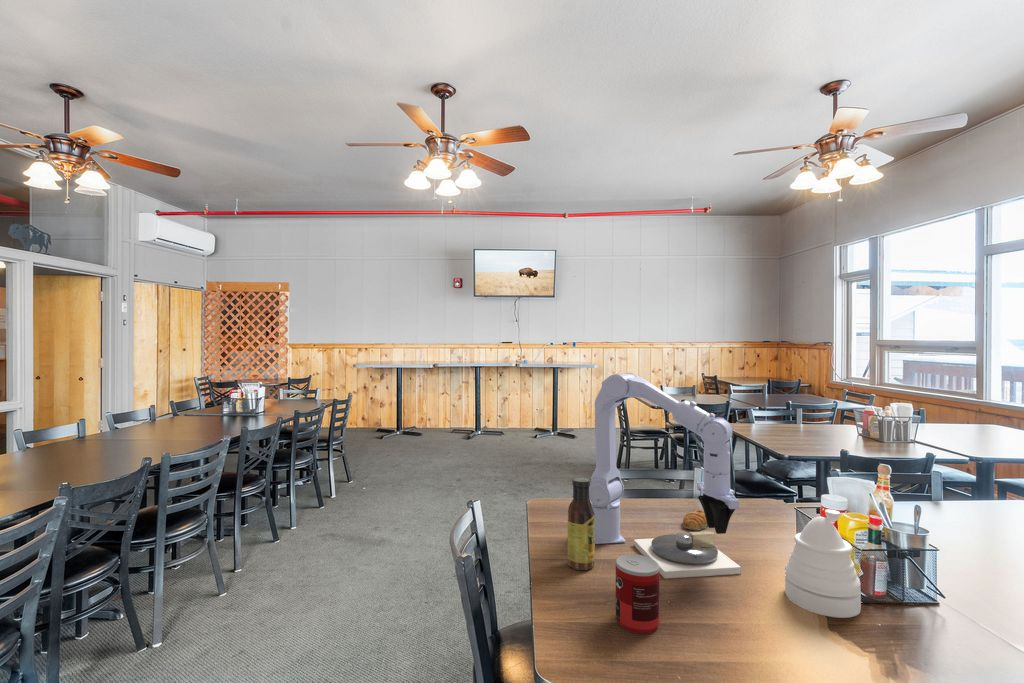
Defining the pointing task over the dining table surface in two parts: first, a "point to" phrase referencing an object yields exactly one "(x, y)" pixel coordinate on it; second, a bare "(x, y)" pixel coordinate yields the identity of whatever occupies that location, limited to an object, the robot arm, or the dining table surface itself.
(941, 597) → the dining table surface
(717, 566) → the base
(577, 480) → the sauce bottle
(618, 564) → the canned food
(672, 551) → the handwheel
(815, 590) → the honey pot
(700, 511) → the pastry
